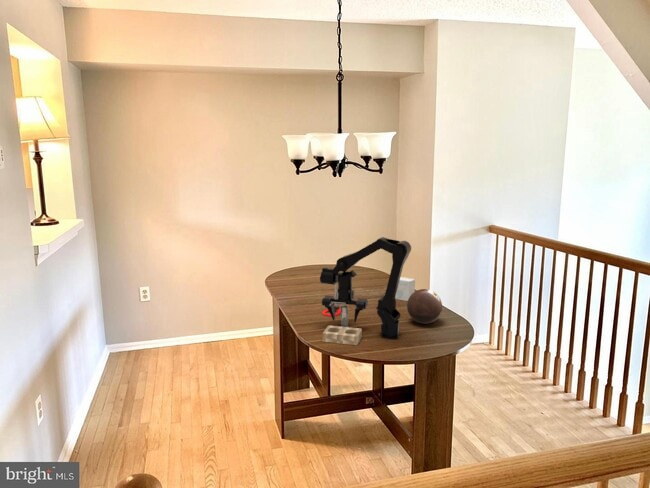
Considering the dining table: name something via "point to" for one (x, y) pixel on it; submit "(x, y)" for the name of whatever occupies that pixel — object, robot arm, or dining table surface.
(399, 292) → the skincare box
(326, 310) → the tow hook
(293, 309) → the dining table surface
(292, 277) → the dining table surface
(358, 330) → the pin block
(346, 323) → the metal pin
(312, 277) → the dining table surface
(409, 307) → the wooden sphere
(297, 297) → the dining table surface
